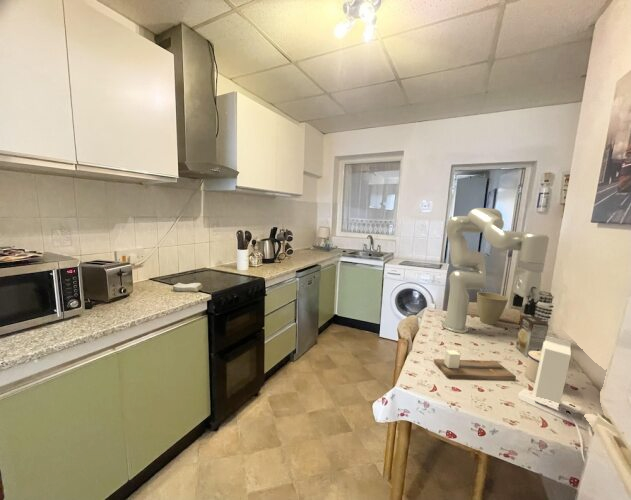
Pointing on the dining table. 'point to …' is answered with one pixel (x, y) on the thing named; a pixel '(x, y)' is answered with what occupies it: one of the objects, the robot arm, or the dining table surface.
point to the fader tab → (452, 359)
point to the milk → (552, 369)
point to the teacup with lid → (532, 365)
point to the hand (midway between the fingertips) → (522, 310)
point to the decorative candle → (544, 306)
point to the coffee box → (531, 334)
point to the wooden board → (475, 370)
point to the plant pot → (490, 307)
